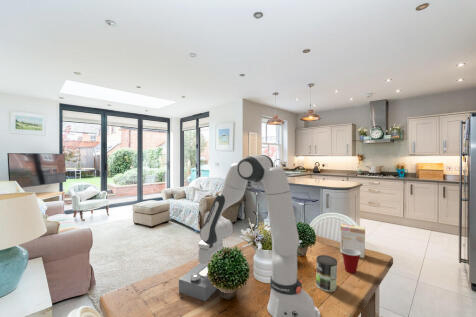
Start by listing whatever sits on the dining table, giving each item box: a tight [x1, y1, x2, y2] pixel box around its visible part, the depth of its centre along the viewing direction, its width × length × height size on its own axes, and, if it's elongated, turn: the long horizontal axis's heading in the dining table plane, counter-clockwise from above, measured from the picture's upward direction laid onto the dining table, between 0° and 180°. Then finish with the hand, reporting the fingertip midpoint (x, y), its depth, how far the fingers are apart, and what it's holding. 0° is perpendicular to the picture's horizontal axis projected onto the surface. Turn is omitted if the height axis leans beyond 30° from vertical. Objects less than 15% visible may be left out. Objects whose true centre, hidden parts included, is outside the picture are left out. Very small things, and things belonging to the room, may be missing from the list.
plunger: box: [191, 273, 200, 283], centre depth 109 cm, size 5×5×6 cm
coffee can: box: [315, 254, 338, 293], centre depth 117 cm, size 10×10×14 cm
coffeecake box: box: [339, 223, 366, 259], centre depth 155 cm, size 15×7×20 cm, turn 58°
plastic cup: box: [341, 248, 361, 274], centre depth 132 cm, size 11×11×12 cm
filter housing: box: [178, 263, 217, 302], centre depth 115 cm, size 18×16×6 cm
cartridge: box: [199, 266, 208, 278], centre depth 119 cm, size 12×5×8 cm, turn 155°
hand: (211, 264), depth 122 cm, fingers closed on cartridge, 3 cm apart
